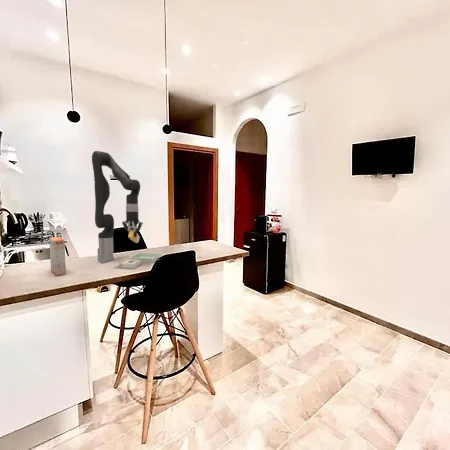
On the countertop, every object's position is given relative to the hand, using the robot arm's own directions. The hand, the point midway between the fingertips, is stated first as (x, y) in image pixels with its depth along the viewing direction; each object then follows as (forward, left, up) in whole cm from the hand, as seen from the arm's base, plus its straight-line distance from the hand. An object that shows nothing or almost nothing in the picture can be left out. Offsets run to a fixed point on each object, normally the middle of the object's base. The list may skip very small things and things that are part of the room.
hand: (132, 236), depth 171 cm
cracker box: (-37, -21, -20) cm, 47 cm away
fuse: (0, +6, -3) cm, 7 cm away
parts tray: (+1, +17, -20) cm, 26 cm away
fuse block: (-2, -2, -20) cm, 20 cm away
